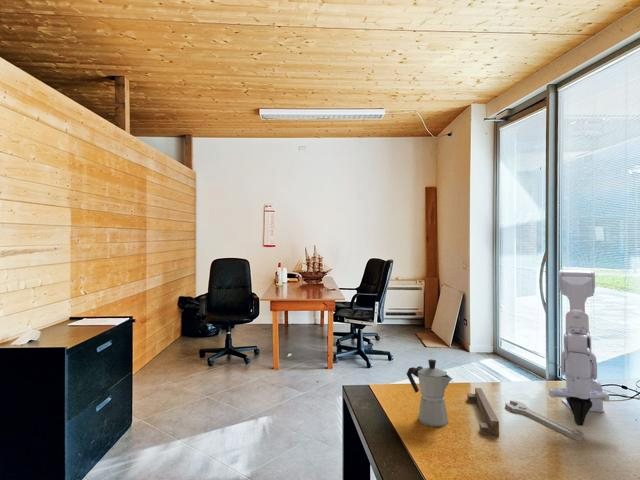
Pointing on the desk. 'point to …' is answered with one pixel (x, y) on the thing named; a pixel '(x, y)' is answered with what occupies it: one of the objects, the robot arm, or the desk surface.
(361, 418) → the desk surface
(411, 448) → the desk surface
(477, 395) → the walnut bar
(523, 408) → the adjustable wrench
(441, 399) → the coffee maker
